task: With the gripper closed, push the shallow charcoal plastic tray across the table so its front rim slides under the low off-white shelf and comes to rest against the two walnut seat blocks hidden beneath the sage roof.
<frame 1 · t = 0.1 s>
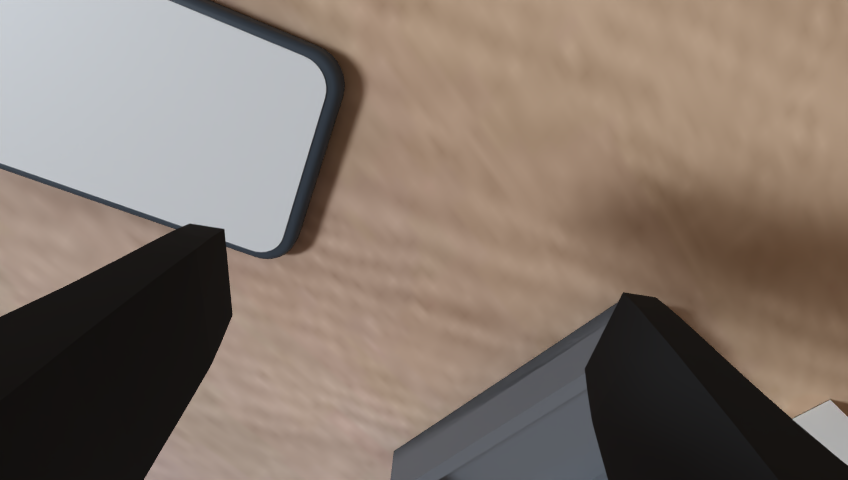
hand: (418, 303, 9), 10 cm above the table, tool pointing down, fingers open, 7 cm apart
shell tray: (549, 429, 24), on the table
smartphone: (125, 88, 18), on the table
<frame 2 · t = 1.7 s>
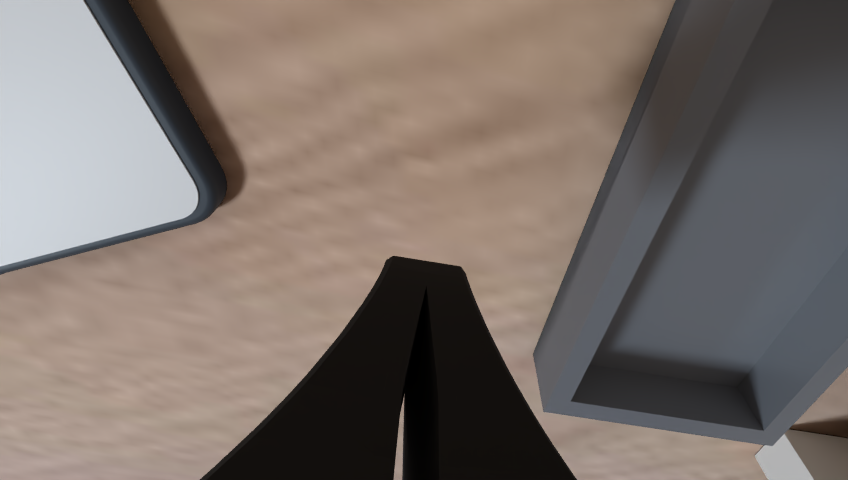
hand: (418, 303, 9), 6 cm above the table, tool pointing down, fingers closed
shell tray: (726, 214, 14), on the table
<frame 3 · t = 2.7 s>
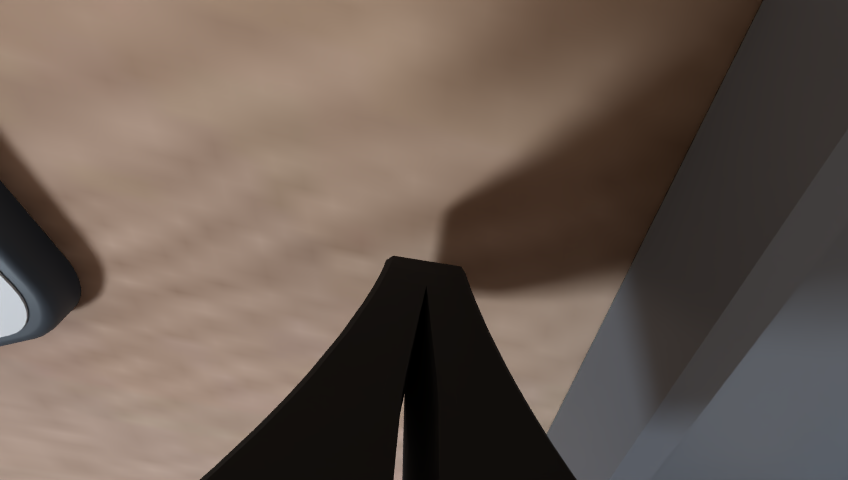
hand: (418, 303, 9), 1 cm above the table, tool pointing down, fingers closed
shell tray: (799, 330, 10), on the table
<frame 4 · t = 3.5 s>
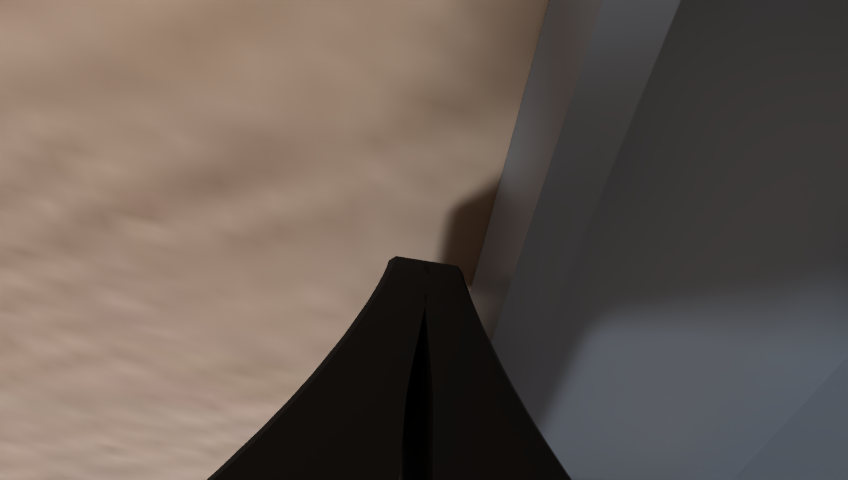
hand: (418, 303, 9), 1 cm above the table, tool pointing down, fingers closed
shell tray: (664, 307, 10), on the table, touching gripper
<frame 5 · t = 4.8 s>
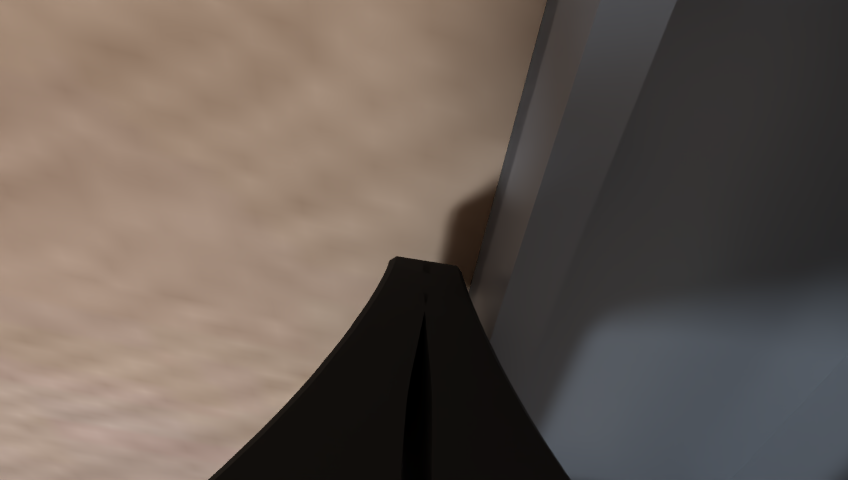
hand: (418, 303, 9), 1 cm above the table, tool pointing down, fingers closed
shell tray: (664, 305, 10), on the table, touching gripper
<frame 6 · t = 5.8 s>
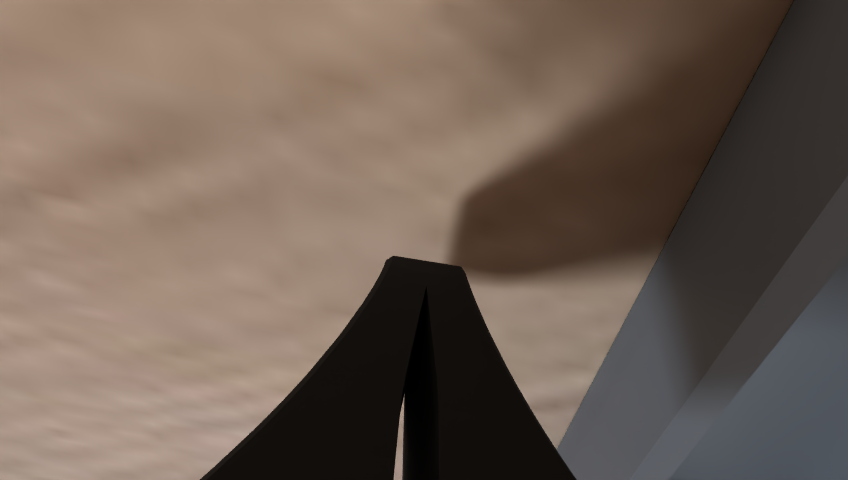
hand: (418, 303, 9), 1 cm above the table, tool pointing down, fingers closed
shell tray: (822, 320, 10), on the table
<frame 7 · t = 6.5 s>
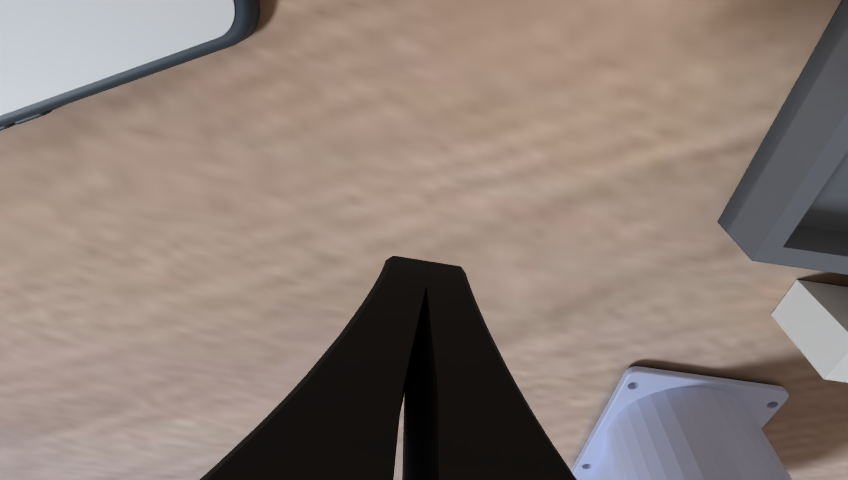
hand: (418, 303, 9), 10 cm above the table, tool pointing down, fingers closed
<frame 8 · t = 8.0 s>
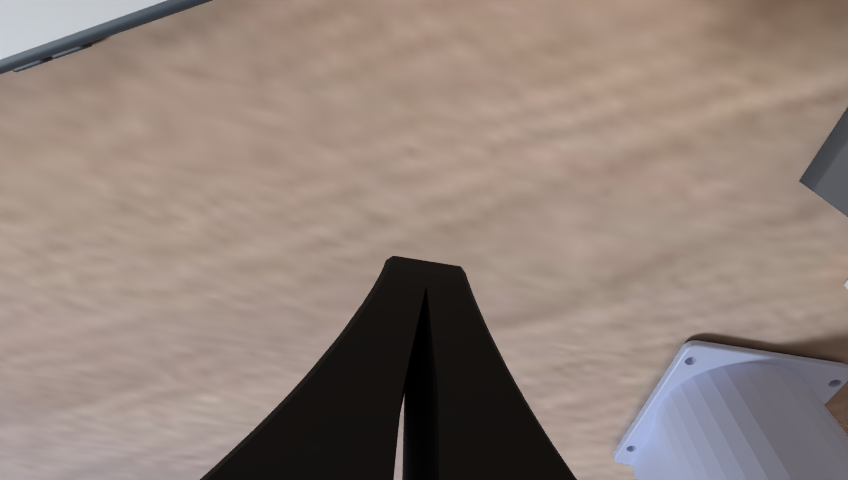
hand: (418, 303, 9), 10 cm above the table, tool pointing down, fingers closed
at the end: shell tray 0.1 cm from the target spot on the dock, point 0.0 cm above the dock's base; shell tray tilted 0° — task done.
